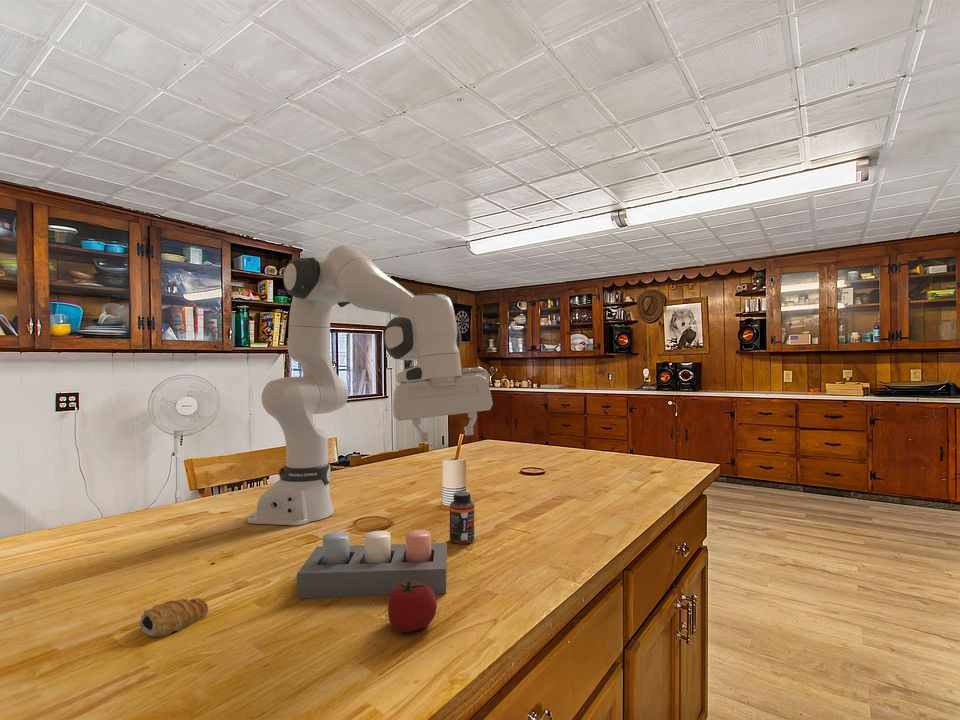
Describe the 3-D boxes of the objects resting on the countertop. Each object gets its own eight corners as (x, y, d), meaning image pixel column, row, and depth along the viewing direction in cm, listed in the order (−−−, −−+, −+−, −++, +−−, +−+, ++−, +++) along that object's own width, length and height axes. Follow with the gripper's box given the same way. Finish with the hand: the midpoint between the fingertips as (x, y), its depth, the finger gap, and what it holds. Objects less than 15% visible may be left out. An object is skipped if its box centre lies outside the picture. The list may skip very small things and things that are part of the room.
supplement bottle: (471, 546, 113) (471, 497, 113) (446, 544, 114) (446, 496, 114) (476, 537, 119) (476, 490, 119) (453, 535, 120) (453, 489, 120)
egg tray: (297, 598, 88) (297, 573, 88) (316, 568, 101) (316, 546, 101) (446, 593, 90) (446, 568, 90) (446, 564, 103) (446, 542, 103)
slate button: (319, 572, 92) (319, 541, 92) (326, 562, 97) (326, 532, 97) (346, 572, 93) (346, 540, 93) (351, 561, 98) (351, 531, 98)
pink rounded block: (404, 570, 93) (404, 538, 93) (407, 559, 98) (406, 530, 98) (430, 569, 94) (430, 538, 94) (431, 559, 98) (431, 529, 99)
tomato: (392, 644, 74) (392, 596, 74) (381, 618, 81) (381, 575, 81) (442, 632, 77) (442, 586, 77) (427, 609, 84) (427, 567, 84)
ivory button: (362, 571, 93) (362, 540, 93) (367, 560, 98) (366, 531, 98) (388, 570, 93) (388, 539, 93) (392, 560, 98) (391, 530, 98)
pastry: (196, 606, 86) (196, 584, 86) (216, 617, 82) (216, 594, 82) (135, 630, 78) (135, 606, 78) (154, 644, 74) (154, 619, 74)
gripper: (483, 367, 105) (490, 431, 105) (388, 376, 99) (395, 444, 98) (492, 364, 99) (500, 432, 98) (392, 373, 93) (399, 446, 92)
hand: (446, 438), depth 98 cm, fingers open, 8 cm apart
